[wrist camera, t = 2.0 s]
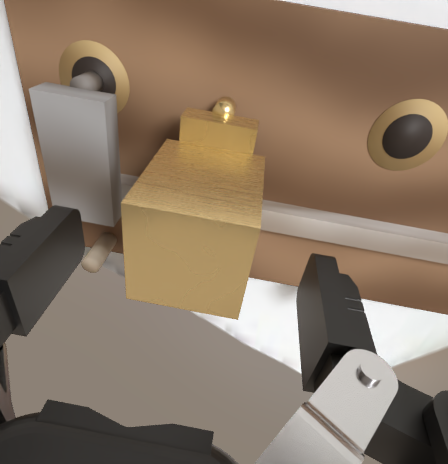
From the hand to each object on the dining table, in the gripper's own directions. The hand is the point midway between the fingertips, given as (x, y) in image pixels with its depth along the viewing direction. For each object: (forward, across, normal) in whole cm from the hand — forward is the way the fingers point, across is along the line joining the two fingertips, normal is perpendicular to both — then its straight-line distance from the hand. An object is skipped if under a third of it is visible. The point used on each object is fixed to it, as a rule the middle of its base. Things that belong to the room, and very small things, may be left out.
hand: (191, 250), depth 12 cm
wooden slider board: (+8, -3, 0) cm, 8 cm away
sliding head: (+6, 0, 0) cm, 6 cm away
